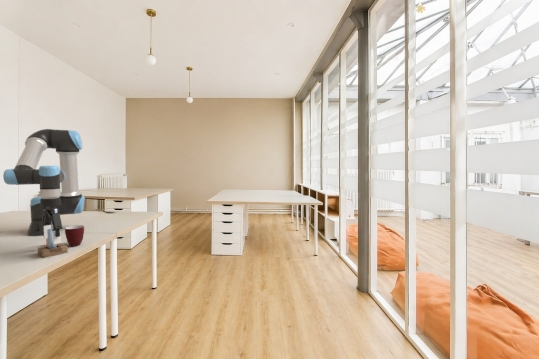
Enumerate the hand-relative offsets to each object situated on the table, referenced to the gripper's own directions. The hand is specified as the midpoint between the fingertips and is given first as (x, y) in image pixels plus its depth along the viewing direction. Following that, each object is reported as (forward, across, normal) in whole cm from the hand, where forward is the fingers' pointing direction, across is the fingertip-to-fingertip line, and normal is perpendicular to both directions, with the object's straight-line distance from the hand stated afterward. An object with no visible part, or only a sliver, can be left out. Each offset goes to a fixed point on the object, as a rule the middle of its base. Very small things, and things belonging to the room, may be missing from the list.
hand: (52, 240), depth 122 cm
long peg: (+6, 0, 0) cm, 6 cm away
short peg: (+6, -15, +3) cm, 17 cm away
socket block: (+6, 0, 0) cm, 6 cm away
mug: (+6, -6, +11) cm, 14 cm away
